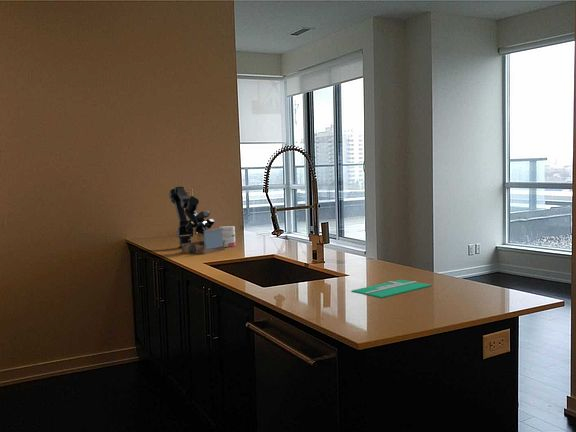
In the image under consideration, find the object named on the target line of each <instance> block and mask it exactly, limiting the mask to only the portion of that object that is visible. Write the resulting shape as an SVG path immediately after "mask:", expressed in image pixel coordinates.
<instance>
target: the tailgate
mask: <svg viewBox="0 0 576 432" xmlns="http://www.w3.org/2000/svg"><path fill="white" fill-rule="evenodd" d="M203 232H204V235H203V241H204V245H205V246H206V250H207V249H212V248H217V247H222V246H223V235H222V228H212V229H208V230H207V231H203Z"/></svg>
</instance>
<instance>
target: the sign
mask: <svg viewBox="0 0 576 432" xmlns="http://www.w3.org/2000/svg"><path fill="white" fill-rule="evenodd" d="M429 287H432V284H429V283H422V282H418V281H417V280H416V281H415V280H414V281H412V280H411V281H410V280H405V279H398V280H393V281H391V280H389V281H387V282H385V283H379V284H375V285H371V286H365V287H360V288H358V289H357V288H356V289H352V290H351V291H350V292H352V293H357V294H362V295H366V296H370V297H371V296H372V297H376V298H380V299H383V298H387V297H392V296H396V295H400V294H405V293H409V292H413V291H416V290H421V289H425V288H429Z"/></svg>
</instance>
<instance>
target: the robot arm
mask: <svg viewBox="0 0 576 432" xmlns="http://www.w3.org/2000/svg"><path fill="white" fill-rule="evenodd" d="M168 197H169V199H170V201H171V203H173V205H174V206H175V210H176V214H177V218H178V219H177V220H178V222H179V224H178V227H177V231H176V238H179V246H177V248H179V249H181V244H185V243H190V242H192V239H191V238H193V237H194V232H196V233H199V234H202V235H203V236H204V232H203V231H207V230H211V228H212V226H213V225H214V223H215V220H214V218H208V217H210V215H211V213H210V211H209V210H208V209H205V210H202V211H200V212H199V213H198V212H197V209H198V206H199V203H200V201H199V199H198V198H196V197H195V196H194V195H188V194H187V192H186V190H185V187H184V186H175V187H174V188H172V189H171V190H169V191H168ZM187 218H188V219H189V220H188V219H187ZM206 218H208V219H206ZM194 228H195V229H194Z"/></svg>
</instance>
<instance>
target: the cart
mask: <svg viewBox="0 0 576 432" xmlns="http://www.w3.org/2000/svg"><path fill="white" fill-rule="evenodd" d="M180 250H181V253H189V254H199V255H200V254H202V255H206V254H212V253H215V252H220V251H221V252H222V251H225V247H224V242H223V246H222V247H217V248H212V249H207V250H206V246H205V245H204V240H196V241H191V242H190V243H185V244H181V248H180Z"/></svg>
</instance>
